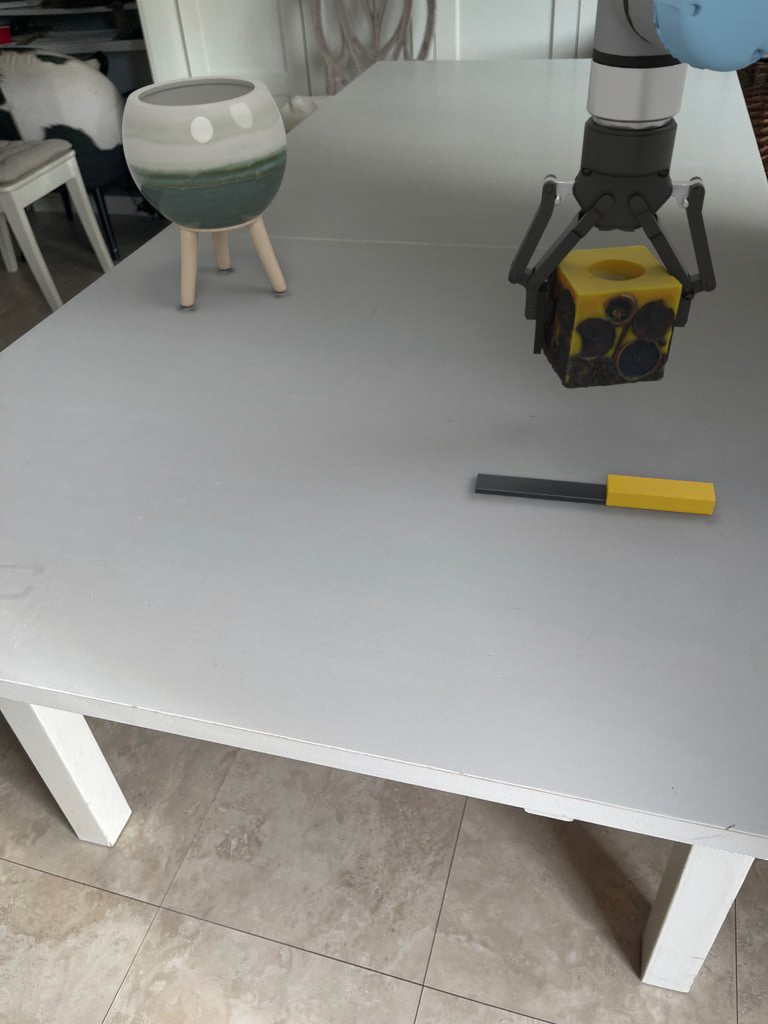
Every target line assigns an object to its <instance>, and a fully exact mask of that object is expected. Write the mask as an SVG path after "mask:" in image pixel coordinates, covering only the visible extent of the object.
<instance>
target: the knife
mask: <svg viewBox="0 0 768 1024" xmlns="http://www.w3.org/2000/svg"><path fill="white" fill-rule="evenodd" d="M474 490H475V491H474V493H476V494H486V495H497V496H508V497H517V498H518V497H519V498H530V499H541V500H552V501H560V502H561V501H562V502H572V503H584V504H593V505H594V504H596V505H605V506H609V507H610V506H611V507H620V508H633V509H641V510H654V511H663V512H675V513H685V514H687V513H688V514H695V515H696V514H699V515H708V516H712V515H713V512H714V510H715V505H716V501H717V500H716V494H715V488H714V483H713V482H704V481H692V480H680V479H667V478H657V477H655V478H654V477H642V476H632V475H622V474H621V475H619V474H607V479H606V484H604V483H593V482H581V481H571V480H569V481H568V480H557V479H545V478H533V477H522V476H511V475H500V474H488V473H477V478H476V483H475V488H474Z"/></svg>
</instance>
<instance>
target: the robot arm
mask: <svg viewBox="0 0 768 1024" xmlns="http://www.w3.org/2000/svg"><path fill="white" fill-rule="evenodd" d="M596 3H597V4H596V13H595V23H594V24H595V25H594V34H593V43H592V54H591V55H592V56H591V59H590V60H591V61H590V68H589V69H590V70H589V79H588V87H587V99H586V107H585V108H586V109H585V110H586V111H587V113H588V114H589V115H590V117H588V119H587V120H586V121H585V122H584V129H583V137H582V138H583V139H582V146H581V147H582V148H581V157H580V167H579V171H578V173H577V175H576V176H575V177H574V179H569V178H558V177H557V176H556V175H555V174H553V173H550V174H547V175H546V176H545V177H544V179H543V184H542V189H541V200H540V203H539V204H538V207H537V209H536V211H535V213H534V216H533V218H532V220H531V222H530V224H529V226H528V228H527V230H526V233H525V234H524V236H523V239H522V241H521V243H520V245H519V247H518V249H517V251H516V254H515V255H514V258H513V260H512V262H511V264H510V267H509V271H508V276H507V280H508V282H509V283H510V284H513V285H521V286H523V288H524V290H525V305H524V318H525V320H527V321H529V320H530V321H535V329H534V340H533V352H532V353H533V354H534V355H542V340H543V329H544V317H545V306H546V295H547V283H548V281H546V279H547V278H548V277H549V275H550V274H551V273H552V272H553V271H554V270H555V268H556V267H557V266H558V265H559V264H560V263H561V262H562V260H563V259H564V258H565V257H566V256H567V255H568V253H569V252H570V251H571V250H574V248H575V247H576V245H577V244H578V243H579V242H580V241H581V240H582V239H583V238H585V237H586V236H587V234H588V233H589V232H590V231H591V230H592V229H593V227H594V228H595V229H598V231H599V232H610V231H615V230H617V231H618V230H619V231H622V232H626V233H627V232H628V233H635V231H636V230H638V229H641V228H642V230H643V232H644V234H645V236H646V237H647V239H648V240H649V241H650V242H651V244H652V246H653V248H654V250H655V251H656V253H657V255H658V257H659V258H660V260H661V263H662V264H663V267H664V268H665V269H666V270H667V271H668V273H669V274H670V276H674V277H675V278H676V279H677V280H678V281H679V282H680V283H681V285H682V289H681V296H680V300H679V305H678V309H677V313H676V317H675V321H674V325H673V326H672V332H671V337H670V340H669V344H668V349H667V353H668V354H667V361H666V362H668V361H669V356H670V350H671V345H672V341H673V335H674V331H675V328H685V326H686V325H687V323H688V319H689V315H690V309H691V304H692V301H693V299H694V298H695V297H696V294H698V293H702V292H706V293H710V292H713V291H715V289H716V288H717V280H716V276H715V271H714V266H713V261H712V256H711V251H710V246H709V241H708V236H707V232H706V226H705V222H704V218H703V217H704V216H703V207H704V202H705V197H706V188H705V185H704V181H703V179H702V178H701V176H697V175H696V176H693V177H691V178H690V179H689V180H672V178H671V173H670V172H671V167H672V166H671V165H672V159H673V154H674V148H675V142H676V137H677V130H678V123H677V122H676V119H675V116H677V114H679V112H680V111H681V107H682V102H683V95H684V90H685V84H686V79H687V71H688V65H689V66H690V67H691V68H692V69H693V68H694V69H699V70H702V71H703V70H708V71H712V72H718V73H728V72H729V73H730V72H735V71H738V70H742V69H744V68H747V67H749V66H750V65H752V64H754V63H756V62H758V61H759V60H760V59H762V58H763V57H765V56H768V0H597V1H596ZM569 195H572V196H573V198H574V200H575V201H576V202H577V204H578V206H579V207H580V209H579V210H578V211H577V213H576V214H575V215H574V216H573V218H572V219H571V222H569V224H568V225H567V226H566V228H565V229H564V230H562V232H561V233H560V234H559V235H558V236H557V238H556V239H555V240H554V242H552V244H551V246H549V248H547V250H546V251H545V253H544V254H542V256H541V257H540V259H539V260H538V261H537V262H536V263H535V264H534V266H532V268H528V265H529V264H530V261H531V259H532V257H533V255H534V253H535V251H536V249H537V247H538V245H539V243H540V241H541V239H542V236H543V235H544V232H545V230H546V228H547V226H548V224H549V222H550V220H551V218H552V215H553V213H554V209H555V206H556V207H557V206H561V205H562V204H563V203H564V202H565V198H567V197H568V196H569ZM671 197H674V198H675V199H676V201H677V205H678V207H679V208H680V209H684V210H685V215H686V219H687V223H688V228H689V232H690V236H691V241H692V245H693V246H692V247H693V250H694V255H695V260H696V265H697V270H698V273H694V274H690V272H689V270H688V268H687V267H686V265H685V263H684V261H683V259H682V258H681V255H680V254H679V252H678V250H677V248H676V247H675V245H674V243H673V241H672V239H671V238H670V235H669V234H668V232H667V231H666V228H665V227H664V225H663V223H662V221H661V218H660V216H659V214H658V211H660V209H661V208H662V207H663V206H664V205H665V203H667V201H669V199H670V198H671Z"/></svg>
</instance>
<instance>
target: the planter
mask: <svg viewBox="0 0 768 1024" xmlns="http://www.w3.org/2000/svg"><path fill="white" fill-rule="evenodd" d="M121 137H122V138H121V140H122V146H123V148H122V149H123V153H124V157H125V162H126V164H127V167H128V170H129V173H130V175H131V177H132V180H133V181H134V184H135V185H136V187H137V188H138V190H139V192H140V193H141V195H142V196H143V197H144V199H145V200H146V201H147V202H148V203H149V205H151V207H152V208H153V209H154V210H155V211H156V212H158V213H159V214H160V215H161V216H163V217H164V218H166V219H167V220H168V221H170V222H172V223H173V224H174V225H175V226H176V227H177V228H180V229H179V230H180V304H181V305H182V306H183V307H186V308H188V307H191V306H194V303H195V299H196V298H195V297H196V296H195V295H196V282H197V271H198V258H199V257H198V256H199V241H200V239H199V238H200V233H211V237H212V242H213V248H214V253H215V257H216V261H217V266H218V268H219V269H220V270H225V271H226V270H228V269H230V268H231V258H230V248H229V241H228V239H229V238H228V232H227V231H232V230H235V229H241V228H244V227H246V230H247V231H248V234H249V236H250V238H251V241H252V243H253V246H254V248H255V250H256V253H257V254H258V257H259V260H260V262H261V263H262V265H263V268H264V270H265V272H266V274H267V276H268V278H269V281H270V283H271V285H272V287H273V290H274V291H275V292H278V293H283V292H285V291H286V290H287V284H286V281H285V277H284V275H283V272H282V270H281V267H280V265H279V262H278V259H277V257H276V254H275V252H274V251H275V250H274V249H273V246H272V242H271V240H270V238H269V234H268V232H267V229H266V227H265V223H264V219H263V216H264V214H265V211H267V209H268V208H269V207H270V205H271V204H272V203H273V202H274V200H275V198H276V196H277V194H278V193H279V191H280V188H281V186H282V183H283V180H284V177H285V173H286V168H287V163H288V162H287V159H288V141H287V134H286V128H285V123H284V121H283V117H282V114H281V111H280V109H279V107H278V104H277V101H276V100H275V98H274V96H273V95H272V93H271V92H270V90H269V88H268V87H267V85H266V84H265V83H264V82H263V81H261V80H259V79H256V78H252V77H248V76H241V75H203V76H190V77H183V78H176V79H169V80H164V81H160V82H156V83H152V84H149V85H146V86H143V87H141V88H138V89H136V90H133V92H131V93H130V94H129V95H128V97H127V99H126V101H125V105H124V109H123V115H122V124H121Z"/></svg>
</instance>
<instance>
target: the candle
mask: <svg viewBox="0 0 768 1024" xmlns="http://www.w3.org/2000/svg"><path fill="white" fill-rule="evenodd" d="M545 281H548V283H547V295H546V306H545V317H544V329H543V340H542V349H541V351H542V354H543V355H544V356H545V357H546V360H547V362H548V363H549V364H550V365H551V369H553V371H554V373H555V374H556V375H557V377H558V378H559V380H560V382H561V385H562V386H563V387H564V388H565V389H570V390H573V389H578V388H580V389H581V388H582V389H583V388H584V389H585V388H586V389H587V388H591V387H592V388H593V387H609V386H618V385H624V384H636V383H640V382H641V383H645V382H658V381H662V379H663V378H664V376H665V369H666V364H667V362H668V361H667V354H668V353H667V349H668V344H669V340H670V337H671V332H672V326H673V325H674V321H675V317H676V313H677V309H678V305H679V300H680V296H681V289H682V285H681V283H680V282H679V281H678V280H677V279H676V278H675V277H674V276H670V274H669V273H668V271H667V269H666V267H665V266H664V265H662V264H661V262H660V261H658V259H657V258H655V257H654V255H653V254H652V253H651V252H650V250H649V248H647V247H646V245H641V244H635V245H627V246H614V247H613V246H612V247H611V246H610V247H600V248H589V249H588V248H587V249H572V250H571V251H570V252H569V253H568V255H567V256H566V257H565V258H564V259H563V260H562V262H561V263H560V264H559V265H558V266H557V267H556V268H555V270H554V271H553V272H552V273H551V274H550V275H549V277H548V278H547V279H546V280H545Z"/></svg>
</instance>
